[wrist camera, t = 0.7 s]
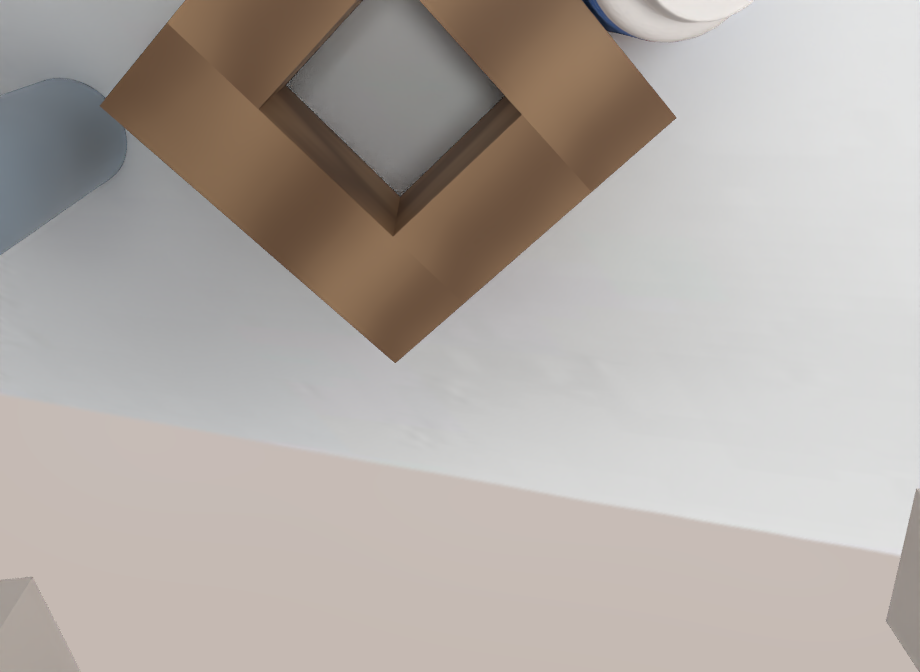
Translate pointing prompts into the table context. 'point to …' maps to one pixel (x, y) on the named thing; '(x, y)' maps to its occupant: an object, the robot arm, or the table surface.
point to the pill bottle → (663, 17)
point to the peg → (52, 153)
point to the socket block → (353, 182)
